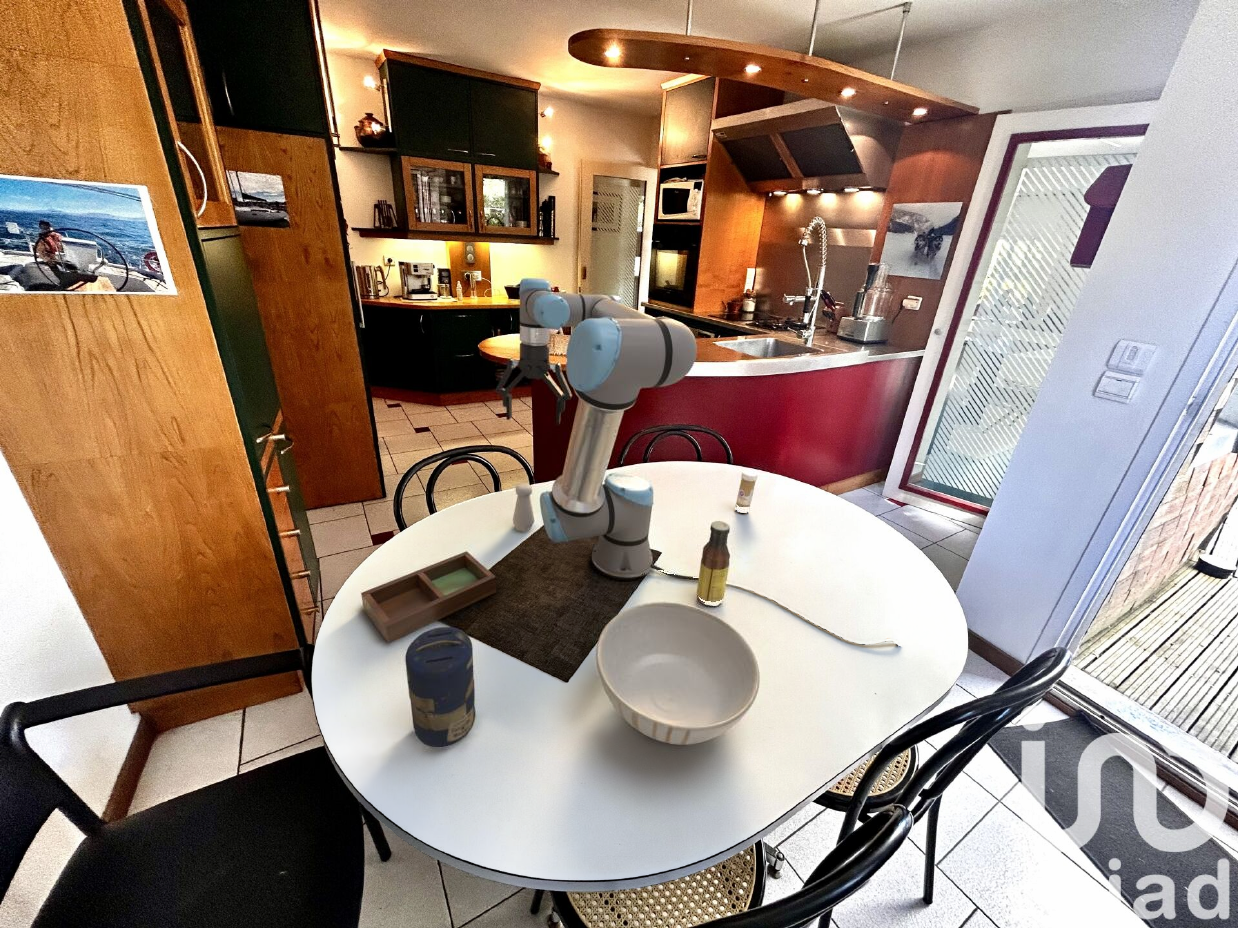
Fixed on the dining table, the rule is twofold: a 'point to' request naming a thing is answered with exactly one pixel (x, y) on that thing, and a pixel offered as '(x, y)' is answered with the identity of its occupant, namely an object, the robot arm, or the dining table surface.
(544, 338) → the robot arm
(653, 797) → the dining table surface
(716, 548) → the sauce bottle
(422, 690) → the canister
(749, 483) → the sprinkles bottle
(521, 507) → the salt shaker
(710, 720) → the decorative bowl
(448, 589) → the wooden compartment tray
